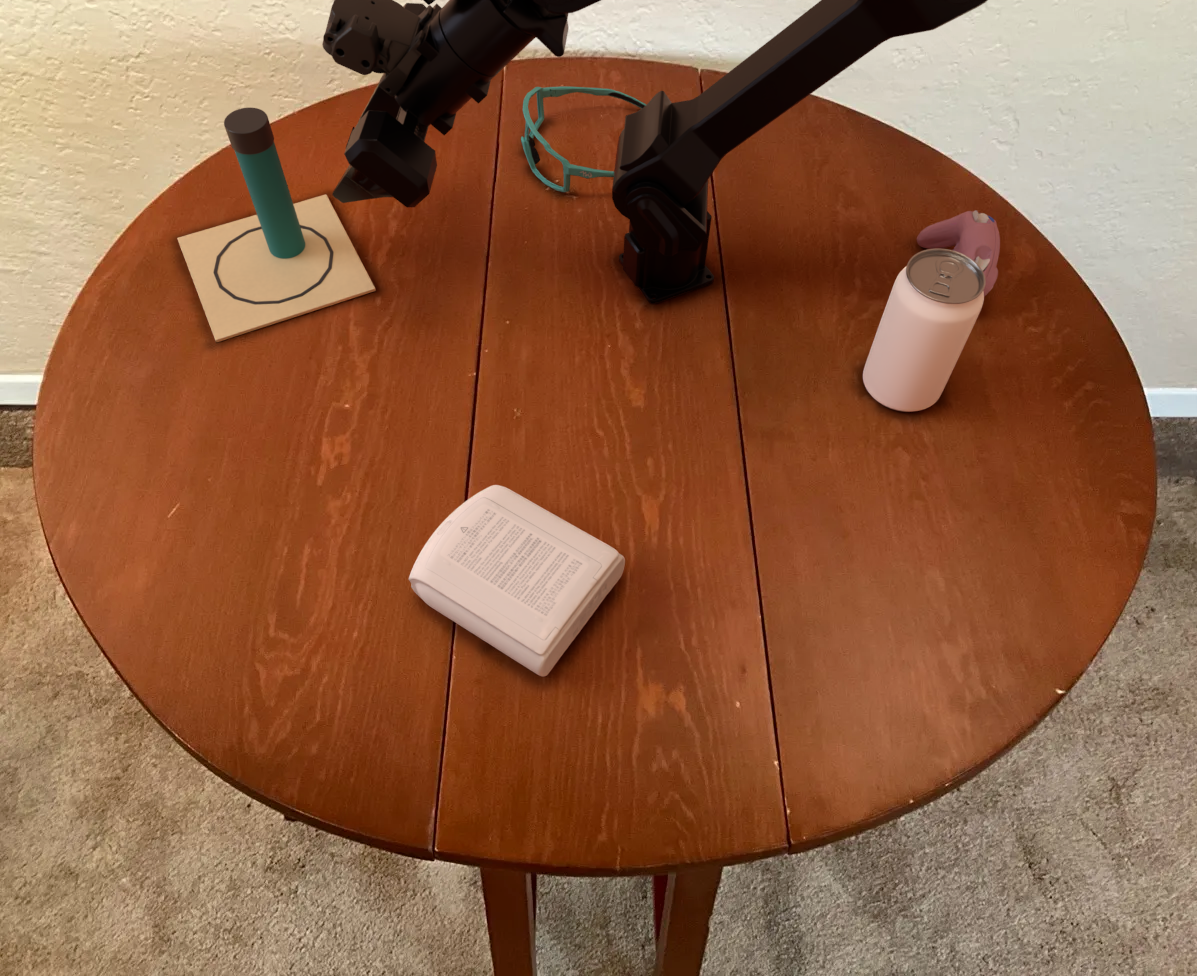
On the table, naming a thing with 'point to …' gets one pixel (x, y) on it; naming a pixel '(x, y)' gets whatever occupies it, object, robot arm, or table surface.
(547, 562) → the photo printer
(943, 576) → the table surface
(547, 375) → the table surface
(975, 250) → the video game controller
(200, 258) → the sketch sheet
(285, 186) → the water bottle
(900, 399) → the can
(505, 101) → the table surface
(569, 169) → the sunglasses
